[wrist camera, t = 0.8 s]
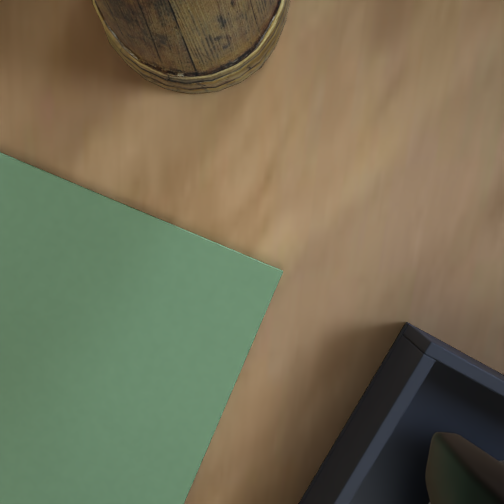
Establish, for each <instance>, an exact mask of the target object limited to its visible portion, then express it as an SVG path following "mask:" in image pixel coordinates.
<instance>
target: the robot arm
mask: <svg viewBox="0 0 504 504" xmlns="http://www.w3.org/2000/svg"><path fill="white" fill-rule="evenodd" d="M425 480H426V486H427V491H428V495H429V499H430V503H431V504H504V464H503V463H501V462H500V461H498V460H497V459H495V458H494V457H492V456H491V455H489V454H488V453H486V452H485V451H483V450H481V449H480V448H478V447H477V446H475V445H474V444H472V443H471V442H469V441H468V440H466V439H465V438H463V437H462V436H460V435H458V434H455V433H446V432H436V433H435V434H434V435H433V437H432V439H431V444H430V450H429V455H428V461H427V466H426V472H425Z"/></svg>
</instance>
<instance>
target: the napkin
mask: <svg viewBox="0 0 504 504" xmlns="http://www.w3.org/2000/svg"><path fill="white" fill-rule="evenodd" d="M282 273H283V271H282V270H280V269H277V268H275V267H273V266H270V265H268V264H266V263H263V262H261V261H258V260H256V259H254V258H251V257H249V256H246V255H244V254H242V253H239V252H237V251H235V250H232V249H230V248H227V247H225V246H223V245H220V244H218V243H215V242H213V241H211V240H208V239H206V238H204V237H201V236H199V235H196V234H194V233H192V232H189V231H187V230H184V229H182V228H180V227H177V226H175V225H172V224H170V223H168V222H165V221H163V220H161V219H158V218H156V217H153V216H151V215H149V214H146V213H144V212H141V211H139V210H137V209H134V208H132V207H130V206H127V205H125V204H122V203H120V202H118V201H115V200H113V199H110V198H108V197H106V196H103V195H101V194H99V193H96V192H94V191H91V190H89V189H87V188H84V187H82V186H79V185H77V184H75V183H72V182H70V181H67V180H65V179H63V178H60V177H58V176H56V175H53V174H51V173H48V172H46V171H44V170H41V169H39V168H36V167H34V166H32V165H29V164H27V163H25V162H22V161H20V160H17V159H15V158H13V157H10V156H8V155H5V154H3V153H1V152H0V504H184V502H185V499H186V497H187V495H188V492H189V490H190V488H191V485H192V483H193V481H194V478H195V476H196V474H197V471H198V469H199V467H200V464H201V462H202V460H203V457H204V455H205V453H206V450H207V448H208V446H209V443H210V441H211V439H212V436H213V434H214V432H215V429H216V427H217V425H218V422H219V420H220V418H221V415H222V413H223V411H224V408H225V406H226V404H227V401H228V399H229V397H230V394H231V392H232V390H233V387H234V385H235V383H236V380H237V378H238V376H239V373H240V371H241V368H242V366H243V364H244V361H245V359H246V357H247V354H248V352H249V350H250V347H251V345H252V343H253V340H254V338H255V336H256V333H257V331H258V329H259V326H260V324H261V322H262V319H263V317H264V315H265V312H266V310H267V308H268V305H269V303H270V301H271V298H272V296H273V294H274V291H275V289H276V287H277V284H278V282H279V280H280V277H281V275H282Z"/></svg>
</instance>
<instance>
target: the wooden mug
mask: <svg viewBox="0 0 504 504" xmlns="http://www.w3.org/2000/svg"><path fill="white" fill-rule="evenodd" d="M92 2H93V6H94V8H95V10H96V12H97V14H98V16H99V18H100V20H101V22H102V25H103V27H104V29H105V32H106V35H107V37H108V40H109V43H110V44H111V45H112V47H113V48H114V49H115V50H116V51H117V53H118V54H119V55H120V56H121V57H122V59H123V60H124V61H125V62H126V63H127V64H128V65H129V66H130V67H131V68H133V69H134V70H135V71H136V72H137V73H139V74H140V75H141V76H142V77H143V78H145V79H146V80H148V81H151V82H153V83H155V84H157V85H159V86H161V87H163V88H166V89H168V90H174V91H179V92H185V93H191V94H193V93H205V92H216V91H219V90H222V89H225V88H227V87H230V86H232V85H235V84H237V83H240V82H242V81H243V80H244V79H246V78H247V77H249V76H250V75H251V74H253V73H254V72H255V71H257V70H258V69H260V68H261V67H262V65H263V64H264V62H265V61H266V60H267V58H268V57H269V55H270V54H271V53H272V51H273V50H274V48H275V47H276V44H277V42H278V39H279V37H280V34H281V32H282V29H283V27H284V25H285V22H286V17H287V13H288V8H289V4H290V0H92Z"/></svg>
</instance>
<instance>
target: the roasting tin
mask: <svg viewBox="0 0 504 504" xmlns="http://www.w3.org/2000/svg"><path fill="white" fill-rule="evenodd" d="M436 432H446V433H455V434H458V435H460V436H462V437H463V438H465V439H466V440H468V441H469V442H471V443H472V444H474V445H475V446H477V447H478V448H480V449H481V450H483V451H485V452H486V453H488V454H489V455H491V456H492V457H494V458H495V459H497V460H498V461H503V460H504V375H503V374H501V373H499V372H497V371H495V370H493V369H492V368H490V367H488V366H486V365H484V364H482V363H481V362H479V361H477V360H475V359H473V358H472V357H470V356H468V355H466V354H464V353H462V352H461V351H459V350H457V349H455V348H453V347H451V346H450V345H448V344H446V343H444V342H442V341H441V340H439V339H437V338H435V337H433V336H431V335H430V334H428V333H426V332H424V331H422V330H420V329H419V328H417V327H415V326H413V325H411V324H410V323H408V322H406V323H405V325H404V327H403V328H402V330H401V332H400V333H399V335H398V337H397V339H396V340H395V342H394V344H393V345H392V347H391V349H390V350H389V352H388V354H387V355H386V357H385V359H384V360H383V362H382V364H381V366H380V367H379V369H378V371H377V372H376V374H375V376H374V377H373V379H372V381H371V382H370V384H369V386H368V387H367V389H366V391H365V393H364V394H363V396H362V398H361V399H360V401H359V403H358V404H357V406H356V408H355V409H354V411H353V413H352V414H351V416H350V418H349V419H348V421H347V423H346V425H345V426H344V428H343V430H342V431H341V433H340V435H339V436H338V438H337V440H336V441H335V443H334V445H333V446H332V448H331V450H330V452H329V453H328V455H327V457H326V458H325V460H324V462H323V463H322V465H321V467H320V468H319V470H318V472H317V473H316V475H315V477H314V479H313V480H312V482H311V484H310V485H309V487H308V489H307V490H306V492H305V494H304V495H303V497H302V499H301V500H300V502H299V504H429V502H430V499H429V495H428V491H427V486H426V480H425V472H426V466H427V461H428V455H429V450H430V444H431V439H432V437H433V435H434V434H435V433H436Z"/></svg>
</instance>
